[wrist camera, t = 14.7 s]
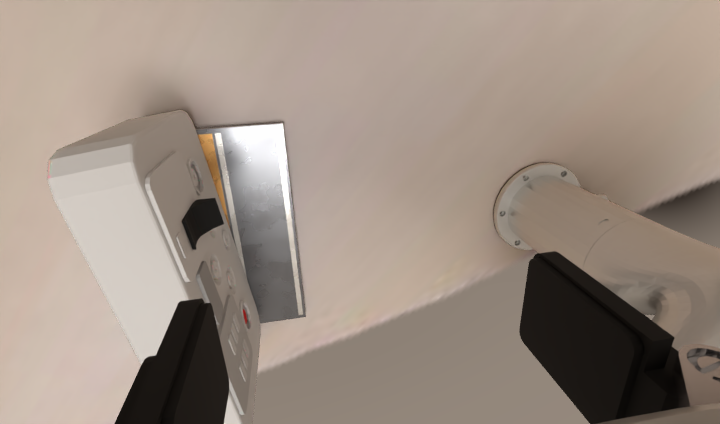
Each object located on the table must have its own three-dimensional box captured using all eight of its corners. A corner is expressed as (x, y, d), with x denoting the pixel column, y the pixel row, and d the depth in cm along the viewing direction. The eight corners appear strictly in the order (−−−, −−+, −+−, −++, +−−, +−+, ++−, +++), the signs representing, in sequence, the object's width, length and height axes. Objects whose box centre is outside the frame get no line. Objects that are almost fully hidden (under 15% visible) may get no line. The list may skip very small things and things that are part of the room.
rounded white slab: (279, 318, 52) (276, 440, 36) (221, 332, 51) (192, 464, 35) (210, 101, 41) (160, 134, 24) (135, 116, 40) (30, 160, 23)
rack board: (282, 121, 44) (282, 123, 43) (305, 311, 54) (305, 317, 53) (151, 131, 42) (147, 133, 41) (200, 326, 52) (198, 332, 51)
